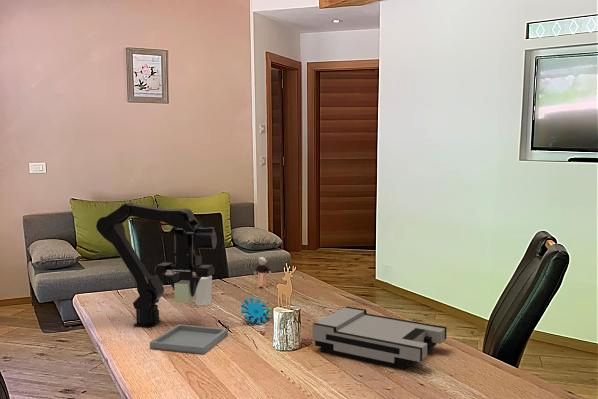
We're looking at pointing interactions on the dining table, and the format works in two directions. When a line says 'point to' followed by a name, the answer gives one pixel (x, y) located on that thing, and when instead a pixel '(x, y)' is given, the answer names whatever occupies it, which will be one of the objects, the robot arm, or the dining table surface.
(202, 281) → the drinking glass
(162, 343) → the tray
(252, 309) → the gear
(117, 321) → the dining table surface
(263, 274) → the grandmother figurine
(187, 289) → the sage block
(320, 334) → the game console
